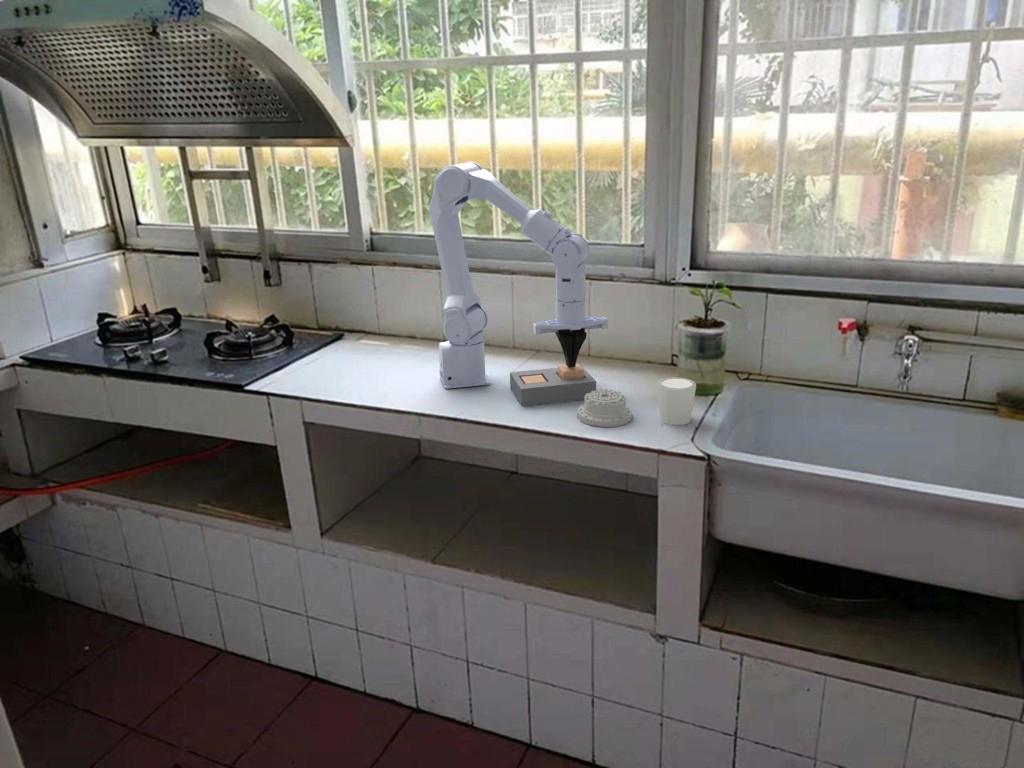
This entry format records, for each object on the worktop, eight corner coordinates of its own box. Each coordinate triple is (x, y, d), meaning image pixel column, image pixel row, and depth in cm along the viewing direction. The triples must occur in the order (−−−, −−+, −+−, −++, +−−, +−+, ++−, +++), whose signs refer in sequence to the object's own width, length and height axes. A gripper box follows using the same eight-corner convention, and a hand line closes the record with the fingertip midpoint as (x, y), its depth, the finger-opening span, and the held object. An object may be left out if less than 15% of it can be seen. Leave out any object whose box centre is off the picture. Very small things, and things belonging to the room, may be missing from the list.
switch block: (521, 406, 153) (520, 388, 151) (510, 388, 162) (509, 372, 161) (596, 398, 156) (596, 381, 154) (581, 381, 165) (581, 365, 164)
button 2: (563, 387, 156) (563, 372, 155) (557, 380, 160) (557, 365, 159) (583, 385, 157) (583, 370, 156) (577, 378, 161) (577, 363, 160)
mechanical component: (575, 427, 143) (630, 429, 141) (575, 404, 141) (631, 406, 140) (580, 406, 152) (632, 408, 150) (580, 385, 151) (633, 387, 149)
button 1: (525, 399, 156) (525, 383, 154) (521, 391, 159) (520, 376, 158) (546, 396, 156) (546, 381, 155) (541, 389, 160) (541, 374, 159)
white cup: (699, 425, 142) (701, 388, 139) (661, 427, 141) (662, 390, 139) (688, 411, 148) (689, 375, 146) (651, 413, 148) (653, 377, 145)
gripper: (538, 307, 148) (540, 375, 152) (613, 300, 151) (612, 368, 155) (530, 298, 154) (531, 364, 159) (601, 292, 157) (600, 357, 162)
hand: (570, 365), depth 158 cm, fingers closed
